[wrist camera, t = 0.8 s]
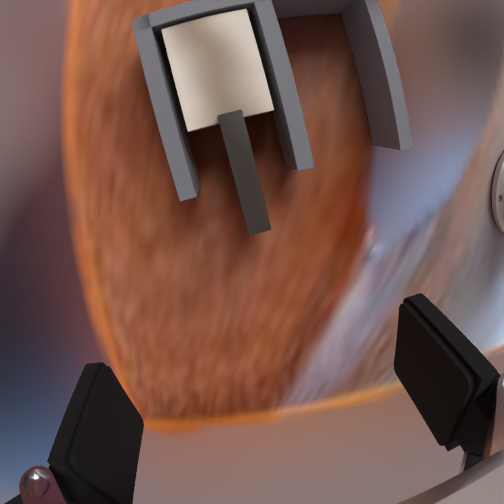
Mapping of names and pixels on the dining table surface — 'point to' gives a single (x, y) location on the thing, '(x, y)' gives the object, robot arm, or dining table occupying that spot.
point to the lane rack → (277, 76)
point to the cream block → (223, 93)
